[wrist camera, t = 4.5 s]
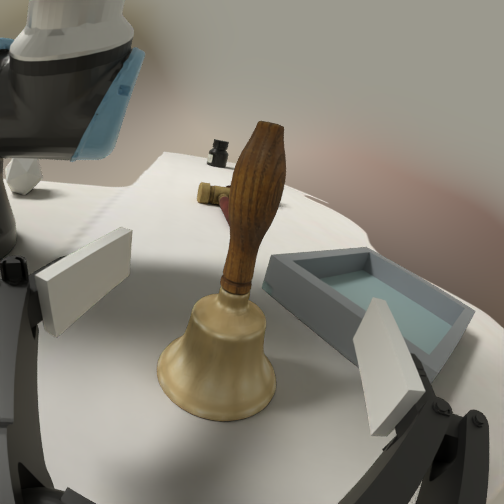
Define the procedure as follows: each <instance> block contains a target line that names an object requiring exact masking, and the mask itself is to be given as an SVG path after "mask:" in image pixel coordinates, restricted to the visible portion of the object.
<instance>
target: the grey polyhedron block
mask: <svg viewBox="0 0 504 504" xmlns="http://www.w3.org/2000/svg"><path fill="white" fill-rule="evenodd" d="M5 171H6V180H7V183H8V185H9V187H10V189H11V191H12V192H15V193H19V194H23V195H26V194H27V193H28V192H29V191H31V190H32V189H33V188H34V187H35V186H36V185H37V184H38V183H39V182H40V181H41V179H42V178H43V175H42V172H41V168H40V164H39V160H38V159H28V158H12V160H11V161H10V163H9V164H8V165H7V167H6V168H5Z"/></svg>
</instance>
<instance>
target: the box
mask: <svg viewBox="0 0 504 504" xmlns="http://www.w3.org/2000/svg"><path fill="white" fill-rule="evenodd" d="M262 288H263V289H264V290H265V291H266V292H267V293H269V294H270V295H271V296H272V297H273V298H274V299H276V300H277V301H278V302H279V303H280V304H282V305H283V306H284V307H285V308H286V309H288V310H289V311H290V312H291V313H292V314H294V315H295V316H296V317H297V318H299V319H300V320H301V321H302V322H303V323H305V324H306V325H307V326H308V327H309V328H311V329H312V330H313V331H314V332H315V333H317V334H318V335H319V336H320V337H322V338H323V339H324V340H325V341H326V342H328V343H329V344H330V345H331V346H333V347H334V348H335V349H336V350H338V351H339V352H340V353H341V354H342V355H344V356H345V357H346V358H347V359H349V360H350V361H351V362H352V363H354V364H355V365H356V366H357V367H359V365H358V360H357V355H356V351H355V346H354V342H353V338H354V336H355V334H356V332H357V330H358V328H359V326H360V324H361V321H362V319H363V317H364V315H365V313H366V311H367V309H368V307H369V305H370V302H371V300H372V298H373V297H375V298H379V299H382V300H385V301H386V303H387V305H388V307H389V309H390V311H391V313H392V315H393V317H394V319H395V321H396V323H397V325H398V328H399V330H400V332H401V334H402V336H403V339H404V341H405V343H406V345H407V348H408V350H409V352H410V353H413V354H415V355H416V356H417V358H418V359H419V360H420V361H421V363H422V365H423V367H424V371H425V372H426V374H427V377H428V379H429V381H430V384H431V383H432V382H433V380H434V379H435V377H436V376H437V375H438V373H439V372H440V370H441V369H442V367H443V366H444V364H445V363H446V361H447V360H448V358H449V357H450V355H451V353H452V352H453V350H454V349H455V347H456V345H457V344H458V342H459V340H460V339H461V337H462V335H463V333H464V332H465V330H466V328H467V326H468V324H469V323H470V321H471V319H472V317H473V315H474V313H475V311H474V310H473V309H471V308H470V307H468V306H467V305H465V304H463V303H462V302H460V301H459V300H457V299H455V298H454V297H452V296H451V295H449V294H447V293H446V292H444V291H442V290H441V289H439V288H437V287H436V286H434V285H432V284H431V283H429V282H427V281H426V280H424V279H422V278H421V277H419V276H417V275H415V274H414V273H412V272H410V271H409V270H407V269H405V268H403V267H402V266H400V265H398V264H396V263H394V262H393V261H391V260H389V259H387V258H385V257H383V256H382V255H380V254H378V253H376V252H375V251H373V250H371V249H369V248H367V247H361V248H349V249H337V250H325V251H313V252H301V253H288V254H276V255H271V257H270V260H269V264H268V268H267V271H266V275H265V278H264V282H263V286H262Z"/></svg>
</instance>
